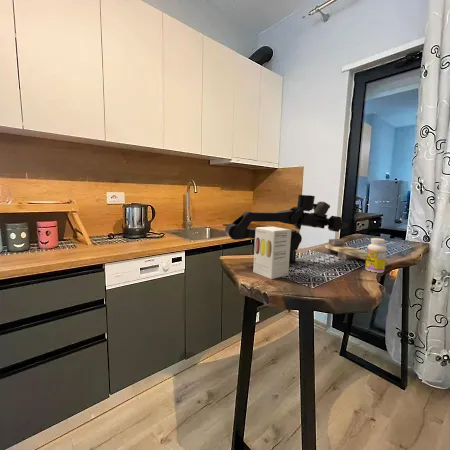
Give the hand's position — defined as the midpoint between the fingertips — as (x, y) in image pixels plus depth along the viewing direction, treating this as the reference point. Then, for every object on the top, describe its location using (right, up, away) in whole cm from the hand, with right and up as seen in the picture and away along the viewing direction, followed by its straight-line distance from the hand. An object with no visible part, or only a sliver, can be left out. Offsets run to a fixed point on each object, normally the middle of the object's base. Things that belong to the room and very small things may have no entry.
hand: (340, 223), depth 114 cm
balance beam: (+8, -16, +7) cm, 19 cm away
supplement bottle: (+8, -19, -13) cm, 24 cm away
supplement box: (-35, -18, -21) cm, 45 cm away
